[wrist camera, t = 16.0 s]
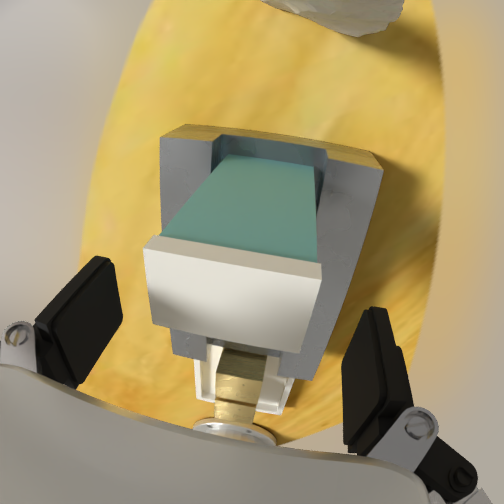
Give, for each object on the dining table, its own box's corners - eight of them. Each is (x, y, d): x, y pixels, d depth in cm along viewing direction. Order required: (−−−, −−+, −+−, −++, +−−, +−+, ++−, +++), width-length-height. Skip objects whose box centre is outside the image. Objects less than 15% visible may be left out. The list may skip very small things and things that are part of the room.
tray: (282, 404, 35) (281, 415, 33) (199, 388, 35) (196, 398, 34) (302, 347, 29) (301, 360, 27) (197, 328, 29) (192, 339, 28)
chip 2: (257, 394, 33) (251, 424, 30) (222, 388, 33) (214, 417, 30) (262, 375, 31) (256, 407, 28) (223, 368, 31) (214, 399, 28)
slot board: (313, 346, 28) (311, 380, 25) (186, 322, 29) (173, 354, 26) (370, 151, 18) (383, 170, 15) (185, 124, 19) (159, 137, 16)
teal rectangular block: (306, 214, 19) (299, 353, 10) (223, 201, 20) (152, 323, 11) (315, 165, 18) (321, 280, 9) (226, 152, 18) (143, 247, 9)
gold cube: (263, 371, 30) (257, 404, 27) (224, 364, 31) (215, 396, 27) (268, 346, 28) (262, 381, 25) (225, 338, 29) (215, 372, 25)
